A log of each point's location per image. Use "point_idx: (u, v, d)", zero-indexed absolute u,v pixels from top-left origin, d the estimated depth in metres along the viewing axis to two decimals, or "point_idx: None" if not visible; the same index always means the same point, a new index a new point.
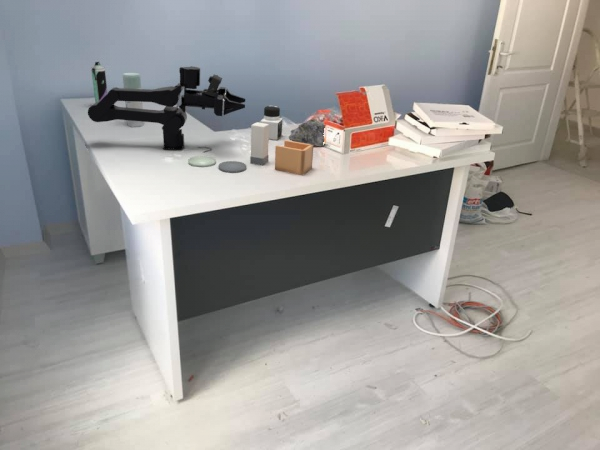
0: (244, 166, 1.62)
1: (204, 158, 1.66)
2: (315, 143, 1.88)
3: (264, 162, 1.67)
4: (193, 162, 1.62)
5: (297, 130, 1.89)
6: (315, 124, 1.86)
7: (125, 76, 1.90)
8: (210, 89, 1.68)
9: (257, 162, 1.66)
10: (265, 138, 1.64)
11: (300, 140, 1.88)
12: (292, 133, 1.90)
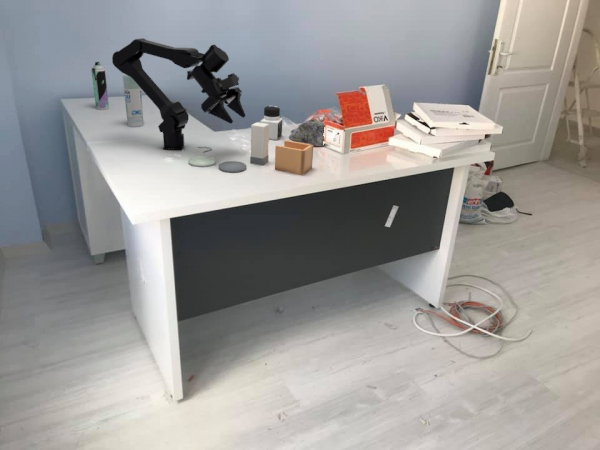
0: (244, 166, 1.62)
1: (204, 158, 1.66)
2: (315, 143, 1.88)
3: (264, 162, 1.67)
4: (193, 162, 1.62)
5: (297, 130, 1.89)
6: (315, 124, 1.86)
7: (125, 76, 1.90)
8: (219, 84, 1.60)
9: (257, 162, 1.66)
10: (265, 138, 1.64)
11: (300, 140, 1.88)
12: (292, 133, 1.90)
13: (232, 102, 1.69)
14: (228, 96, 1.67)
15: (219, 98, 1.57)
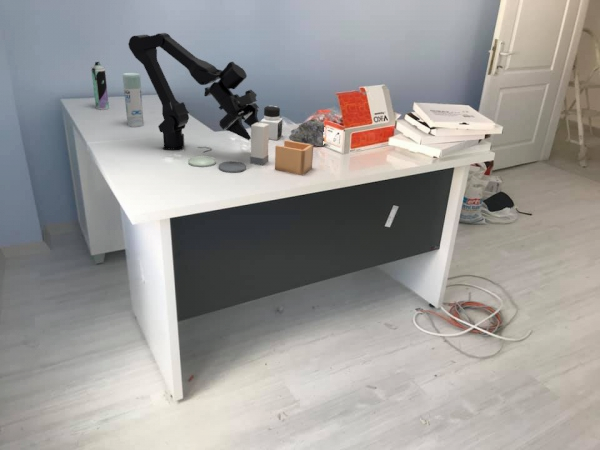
0: (244, 166, 1.62)
1: (204, 158, 1.66)
2: (315, 143, 1.88)
3: (264, 162, 1.67)
4: (193, 162, 1.62)
5: (297, 130, 1.89)
6: (315, 124, 1.86)
7: (125, 76, 1.90)
8: (237, 100, 1.60)
9: (257, 162, 1.66)
10: (265, 138, 1.64)
11: (300, 140, 1.88)
12: (292, 133, 1.90)
13: (249, 118, 1.69)
14: (245, 112, 1.67)
15: (237, 115, 1.57)
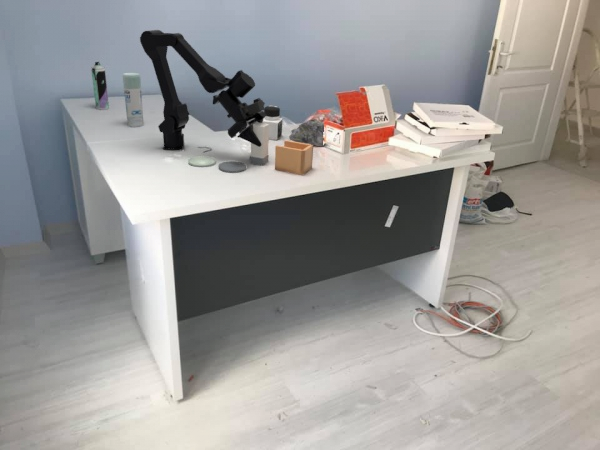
0: (244, 166, 1.62)
1: (204, 158, 1.66)
2: (315, 143, 1.88)
3: (264, 162, 1.67)
4: (193, 162, 1.62)
5: (297, 130, 1.89)
6: (315, 124, 1.86)
7: (125, 76, 1.90)
8: (245, 109, 1.60)
9: (257, 162, 1.66)
10: (265, 138, 1.64)
11: (300, 140, 1.88)
12: (292, 133, 1.90)
13: None
14: (253, 120, 1.67)
15: (246, 124, 1.57)
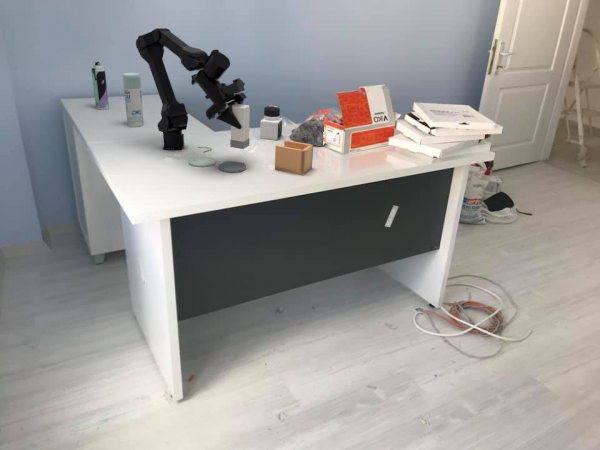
0: (244, 166, 1.62)
1: (204, 158, 1.66)
2: (315, 143, 1.88)
3: (245, 146, 1.59)
4: (193, 162, 1.62)
5: (297, 129, 1.89)
6: (315, 124, 1.86)
7: (125, 76, 1.90)
8: (224, 89, 1.52)
9: (237, 146, 1.59)
10: (245, 121, 1.56)
11: (300, 139, 1.88)
12: (293, 132, 1.90)
13: None
14: (233, 102, 1.60)
15: (225, 104, 1.50)
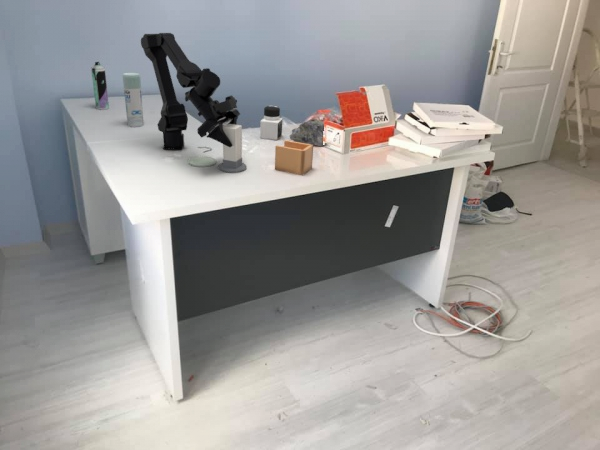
0: (244, 166, 1.62)
1: (204, 158, 1.66)
2: (315, 143, 1.88)
3: (237, 165, 1.60)
4: (193, 162, 1.62)
5: (298, 129, 1.90)
6: (315, 124, 1.87)
7: (125, 76, 1.90)
8: (216, 107, 1.53)
9: (230, 165, 1.59)
10: (237, 141, 1.57)
11: (300, 139, 1.89)
12: (293, 132, 1.91)
13: None
14: (226, 119, 1.60)
15: (216, 122, 1.50)
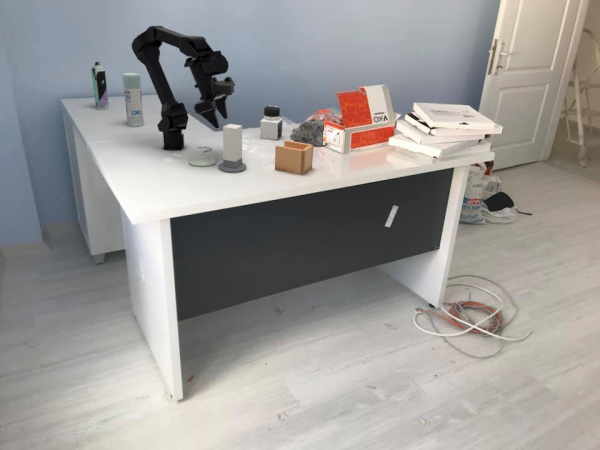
0: (244, 166, 1.62)
1: (204, 158, 1.66)
2: (315, 143, 1.88)
3: (237, 165, 1.60)
4: (193, 162, 1.62)
5: (298, 129, 1.90)
6: (315, 124, 1.87)
7: (125, 76, 1.90)
8: (216, 87, 1.57)
9: (230, 165, 1.59)
10: (237, 141, 1.57)
11: (300, 139, 1.89)
12: (293, 132, 1.91)
13: (218, 100, 1.67)
14: (217, 95, 1.65)
15: (215, 104, 1.56)
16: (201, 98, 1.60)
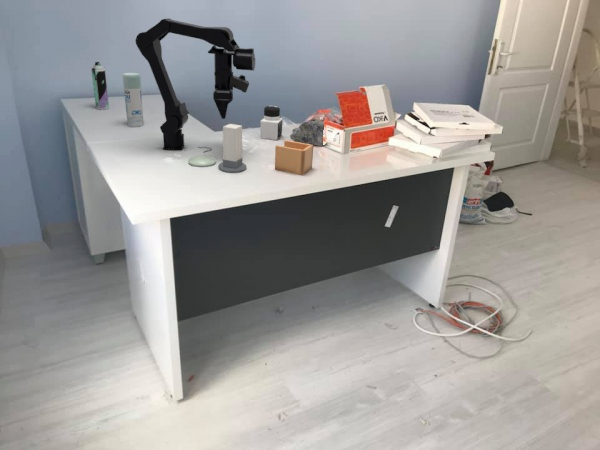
0: (244, 166, 1.62)
1: (204, 158, 1.66)
2: (315, 142, 1.88)
3: (237, 165, 1.60)
4: (193, 162, 1.62)
5: (298, 129, 1.90)
6: (315, 124, 1.87)
7: (125, 76, 1.90)
8: (235, 81, 1.64)
9: (230, 165, 1.59)
10: (237, 141, 1.57)
11: (300, 139, 1.89)
12: (293, 132, 1.91)
13: None
14: None
15: None
16: (216, 86, 1.64)
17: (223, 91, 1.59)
